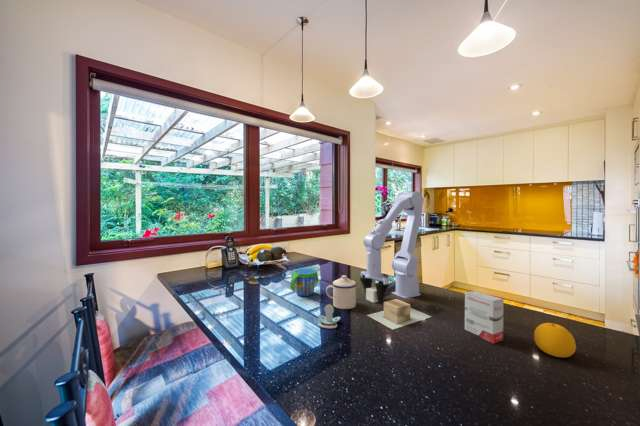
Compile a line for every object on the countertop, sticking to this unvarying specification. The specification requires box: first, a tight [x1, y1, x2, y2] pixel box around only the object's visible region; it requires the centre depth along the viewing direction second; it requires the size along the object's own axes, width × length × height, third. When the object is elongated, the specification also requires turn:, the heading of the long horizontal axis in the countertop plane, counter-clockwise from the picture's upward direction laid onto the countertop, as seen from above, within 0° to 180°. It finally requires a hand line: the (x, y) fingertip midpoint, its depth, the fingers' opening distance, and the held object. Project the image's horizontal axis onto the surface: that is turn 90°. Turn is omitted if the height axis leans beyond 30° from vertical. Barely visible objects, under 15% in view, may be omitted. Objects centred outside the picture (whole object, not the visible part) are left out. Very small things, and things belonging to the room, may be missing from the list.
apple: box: [533, 322, 577, 359], centre depth 65 cm, size 8×8×8 cm
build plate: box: [366, 307, 432, 330], centre depth 87 cm, size 18×12×1 cm, turn 119°
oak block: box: [383, 298, 411, 324], centre depth 85 cm, size 6×6×5 cm
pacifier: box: [317, 303, 341, 330], centre depth 82 cm, size 7×6×6 cm
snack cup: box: [289, 267, 319, 297], centre depth 112 cm, size 16×10×10 cm
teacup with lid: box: [325, 275, 357, 310], centre depth 98 cm, size 12×9×12 cm
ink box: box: [464, 290, 504, 344], centre depth 74 cm, size 8×5×12 cm, turn 26°
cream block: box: [365, 286, 379, 303], centre depth 102 cm, size 4×4×5 cm
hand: (374, 297), depth 102 cm, fingers open, 7 cm apart
